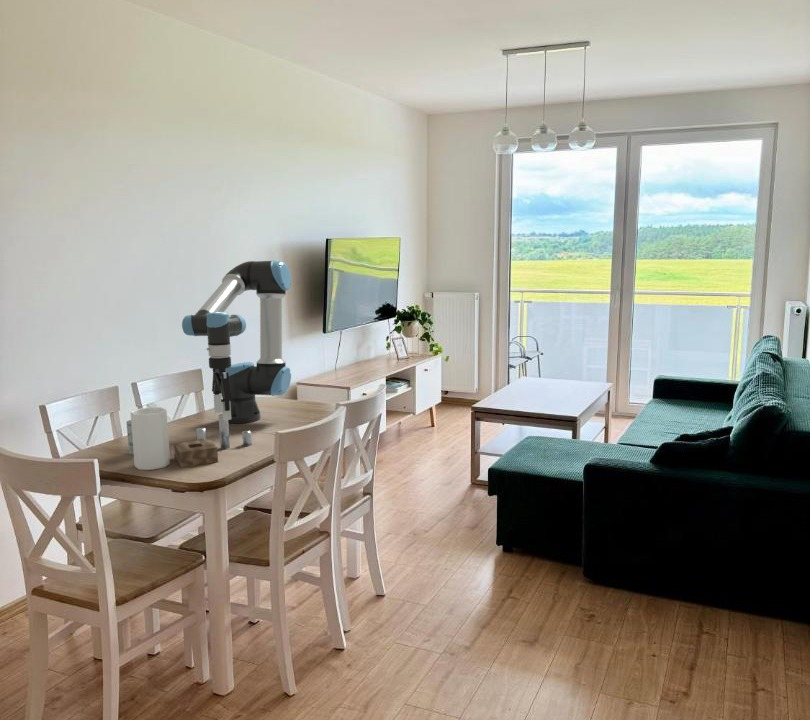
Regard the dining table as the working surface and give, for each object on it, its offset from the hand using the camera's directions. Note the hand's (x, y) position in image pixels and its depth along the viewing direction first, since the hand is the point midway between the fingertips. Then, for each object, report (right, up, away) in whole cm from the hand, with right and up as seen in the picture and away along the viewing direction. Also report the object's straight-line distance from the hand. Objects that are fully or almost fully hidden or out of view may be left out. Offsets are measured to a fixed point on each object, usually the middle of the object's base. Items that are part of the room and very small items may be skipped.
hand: (222, 416), depth 264 cm
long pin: (0, -12, +2) cm, 12 cm away
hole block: (-6, -14, -12) cm, 19 cm away
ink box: (-27, -13, -2) cm, 30 cm away
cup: (-19, -15, -17) cm, 30 cm away
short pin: (+7, -11, +6) cm, 14 cm away
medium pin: (-7, -12, -1) cm, 14 cm away
